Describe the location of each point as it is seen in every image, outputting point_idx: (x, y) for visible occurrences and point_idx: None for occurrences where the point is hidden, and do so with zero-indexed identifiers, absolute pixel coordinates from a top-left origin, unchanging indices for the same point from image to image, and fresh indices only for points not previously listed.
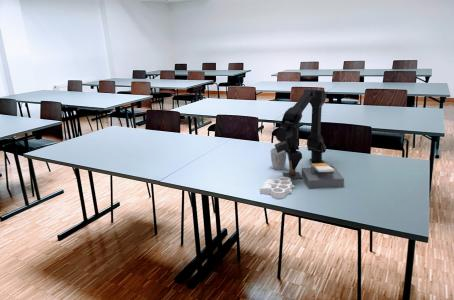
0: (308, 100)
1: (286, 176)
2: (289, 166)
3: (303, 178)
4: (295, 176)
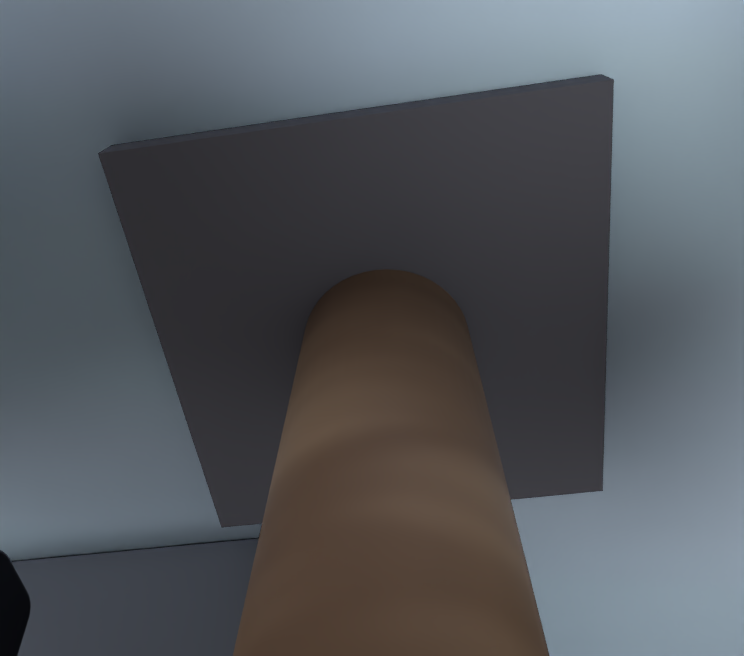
0: None
1: (286, 189)
2: (336, 461)
3: None
4: None
